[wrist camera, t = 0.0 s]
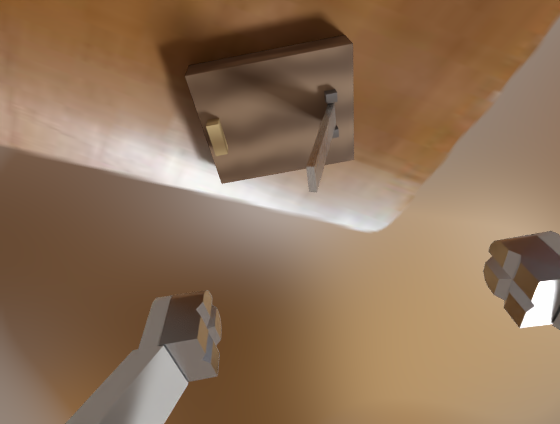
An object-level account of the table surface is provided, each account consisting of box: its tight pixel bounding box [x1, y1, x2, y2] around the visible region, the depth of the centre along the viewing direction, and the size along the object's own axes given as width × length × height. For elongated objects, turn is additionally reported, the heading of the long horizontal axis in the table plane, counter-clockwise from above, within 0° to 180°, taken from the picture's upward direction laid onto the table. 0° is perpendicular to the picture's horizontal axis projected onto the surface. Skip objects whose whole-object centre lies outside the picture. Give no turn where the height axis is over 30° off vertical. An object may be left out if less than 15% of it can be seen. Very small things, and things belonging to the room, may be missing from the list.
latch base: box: [185, 35, 354, 184], centre depth 44 cm, size 16×20×6 cm
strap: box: [306, 102, 336, 192], centre depth 38 cm, size 3×14×1 cm
